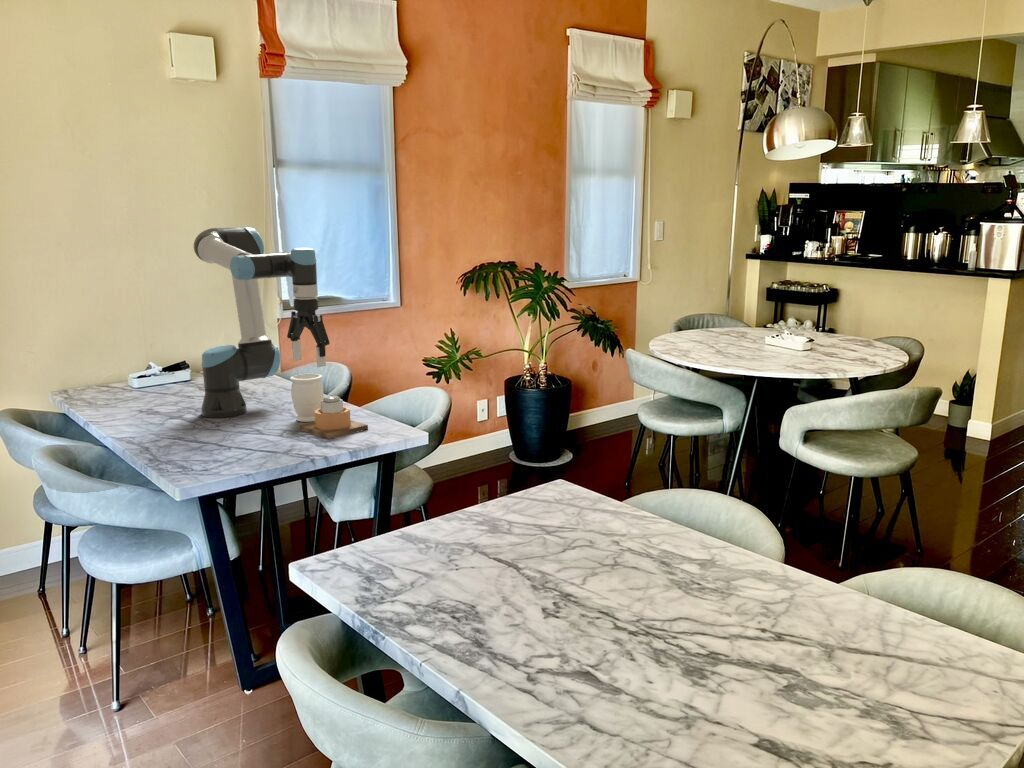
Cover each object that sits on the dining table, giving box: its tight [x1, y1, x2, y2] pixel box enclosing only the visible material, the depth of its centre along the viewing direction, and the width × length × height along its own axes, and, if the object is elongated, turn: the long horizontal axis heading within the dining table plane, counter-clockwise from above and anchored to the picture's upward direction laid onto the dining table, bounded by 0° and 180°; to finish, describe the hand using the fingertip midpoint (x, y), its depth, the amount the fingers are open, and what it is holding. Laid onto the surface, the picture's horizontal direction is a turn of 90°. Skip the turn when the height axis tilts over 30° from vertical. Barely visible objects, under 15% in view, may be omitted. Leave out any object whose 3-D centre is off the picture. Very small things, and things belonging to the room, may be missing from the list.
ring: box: [314, 405, 352, 430], centre depth 266 cm, size 11×11×5 cm
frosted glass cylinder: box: [321, 395, 344, 414], centre depth 266 cm, size 7×7×9 cm
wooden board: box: [298, 419, 369, 440], centre depth 267 cm, size 17×15×2 cm
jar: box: [289, 373, 325, 423], centre depth 279 cm, size 11×10×15 cm
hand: (309, 363), depth 265 cm, fingers open, 13 cm apart
